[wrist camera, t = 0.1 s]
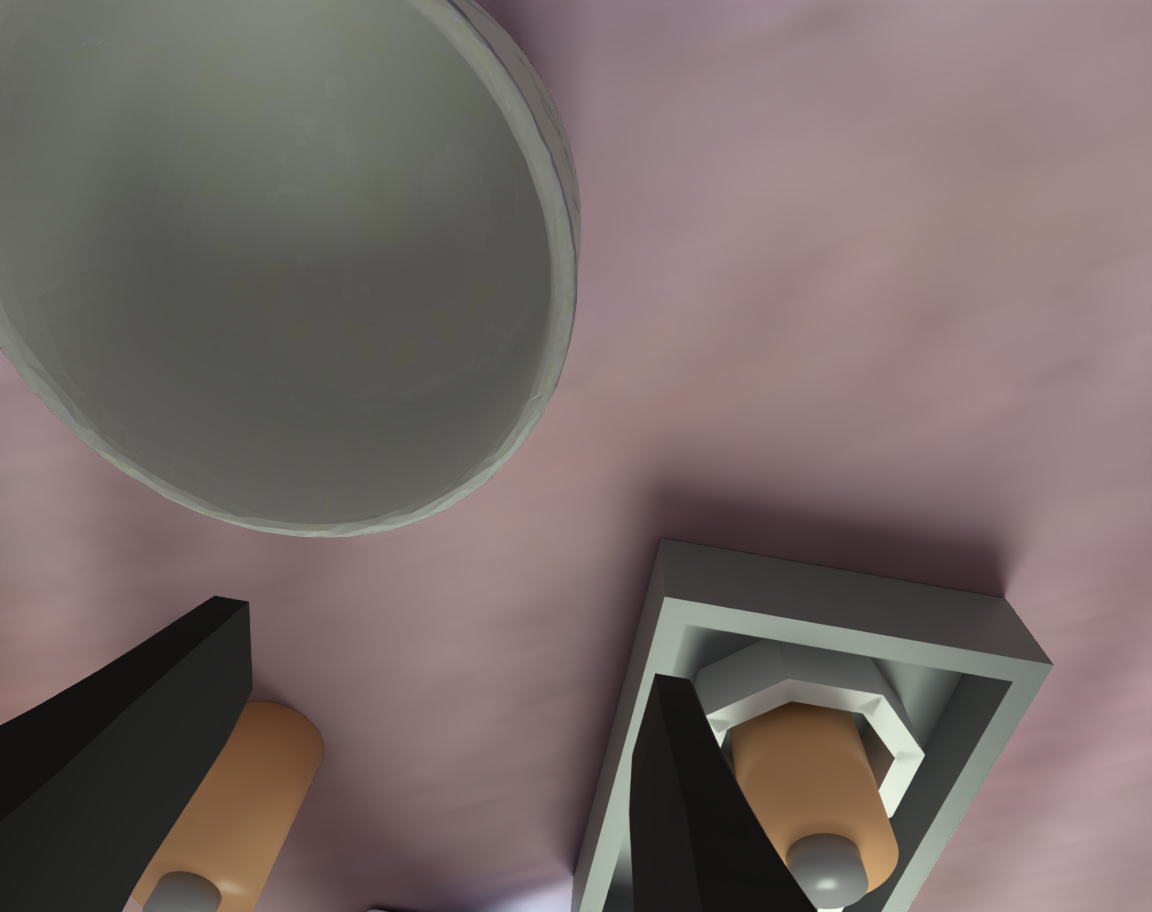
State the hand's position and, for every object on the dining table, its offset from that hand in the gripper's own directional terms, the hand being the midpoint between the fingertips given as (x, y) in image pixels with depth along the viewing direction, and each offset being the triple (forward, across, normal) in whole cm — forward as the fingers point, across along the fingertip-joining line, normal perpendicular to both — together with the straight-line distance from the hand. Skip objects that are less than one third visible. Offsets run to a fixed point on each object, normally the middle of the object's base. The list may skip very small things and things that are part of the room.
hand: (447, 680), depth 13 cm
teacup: (+10, +6, -6) cm, 13 cm away
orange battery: (+10, +8, +14) cm, 19 cm away
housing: (+10, -10, +11) cm, 18 cm away
